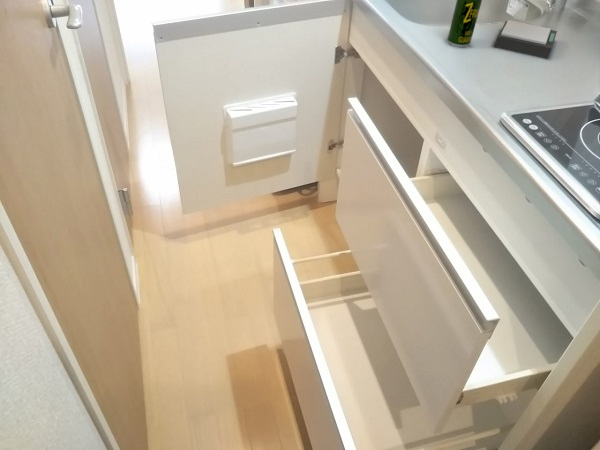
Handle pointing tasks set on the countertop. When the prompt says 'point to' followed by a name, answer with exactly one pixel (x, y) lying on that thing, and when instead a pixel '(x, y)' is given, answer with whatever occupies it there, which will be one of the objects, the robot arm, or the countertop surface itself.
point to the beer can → (463, 22)
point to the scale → (526, 39)
